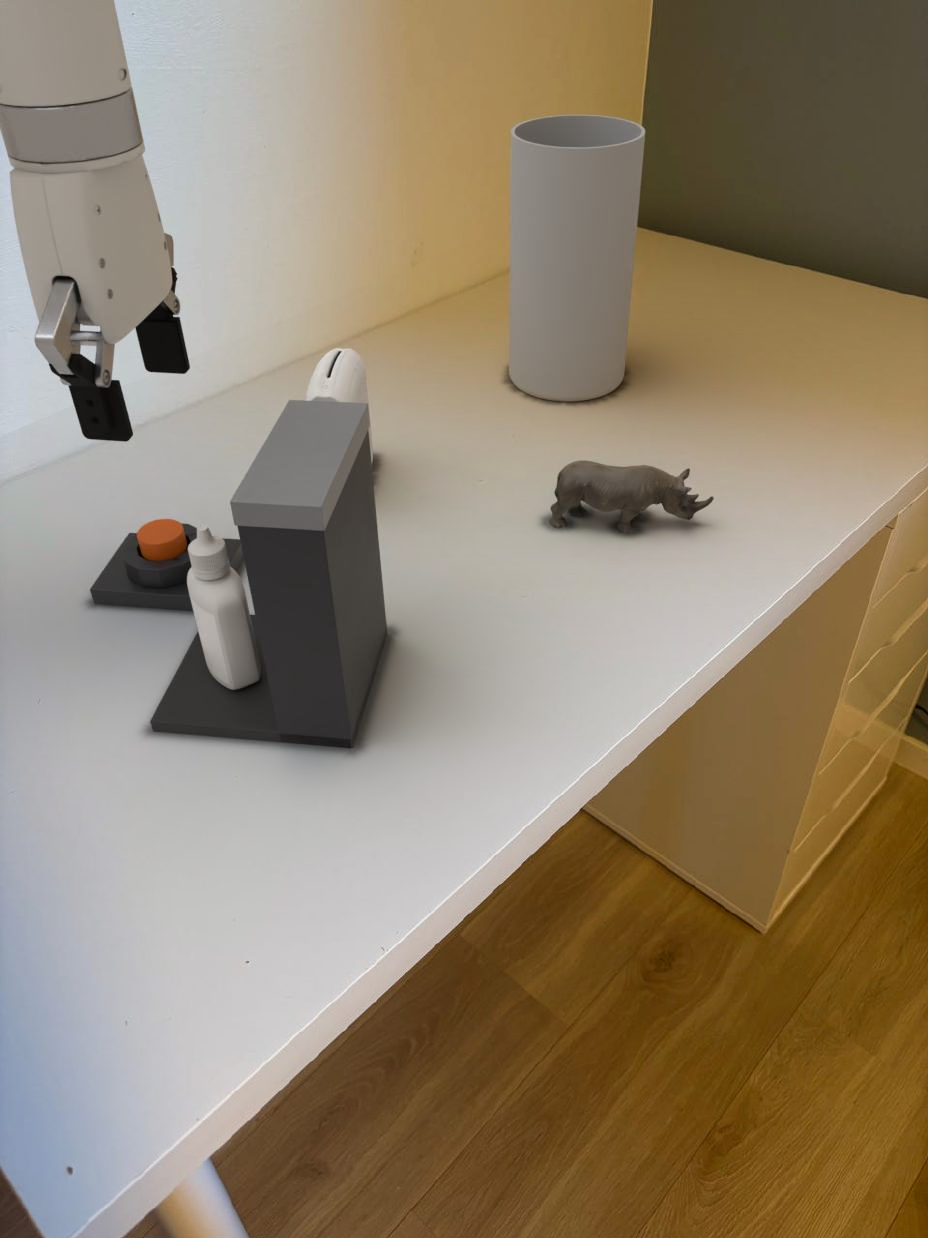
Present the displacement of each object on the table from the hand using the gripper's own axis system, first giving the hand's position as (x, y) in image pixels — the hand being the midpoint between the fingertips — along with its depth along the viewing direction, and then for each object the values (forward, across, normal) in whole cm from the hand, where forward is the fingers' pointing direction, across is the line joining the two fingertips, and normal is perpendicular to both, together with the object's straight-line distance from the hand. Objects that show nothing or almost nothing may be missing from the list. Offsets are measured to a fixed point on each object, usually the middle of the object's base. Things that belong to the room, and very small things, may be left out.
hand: (140, 402), depth 67 cm
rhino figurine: (+18, -16, +34) cm, 42 cm away
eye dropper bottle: (+17, +7, +6) cm, 19 cm away
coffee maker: (+18, +7, +9) cm, 21 cm away
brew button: (+15, -3, -3) cm, 16 cm away
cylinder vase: (+18, -44, +26) cm, 54 cm away
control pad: (+18, -4, -3) cm, 18 cm away
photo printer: (+18, -20, +8) cm, 28 cm away
